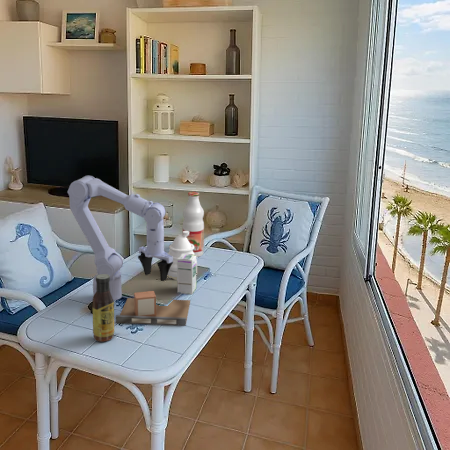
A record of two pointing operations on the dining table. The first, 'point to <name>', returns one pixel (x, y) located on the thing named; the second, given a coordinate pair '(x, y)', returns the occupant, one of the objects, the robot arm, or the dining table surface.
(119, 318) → the brown wooden pallet
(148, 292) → the tea tin
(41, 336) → the dining table surface
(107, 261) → the robot arm
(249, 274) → the dining table surface
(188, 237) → the fruit juice
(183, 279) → the syrup box
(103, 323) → the sauce bottle
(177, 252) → the honey pot
